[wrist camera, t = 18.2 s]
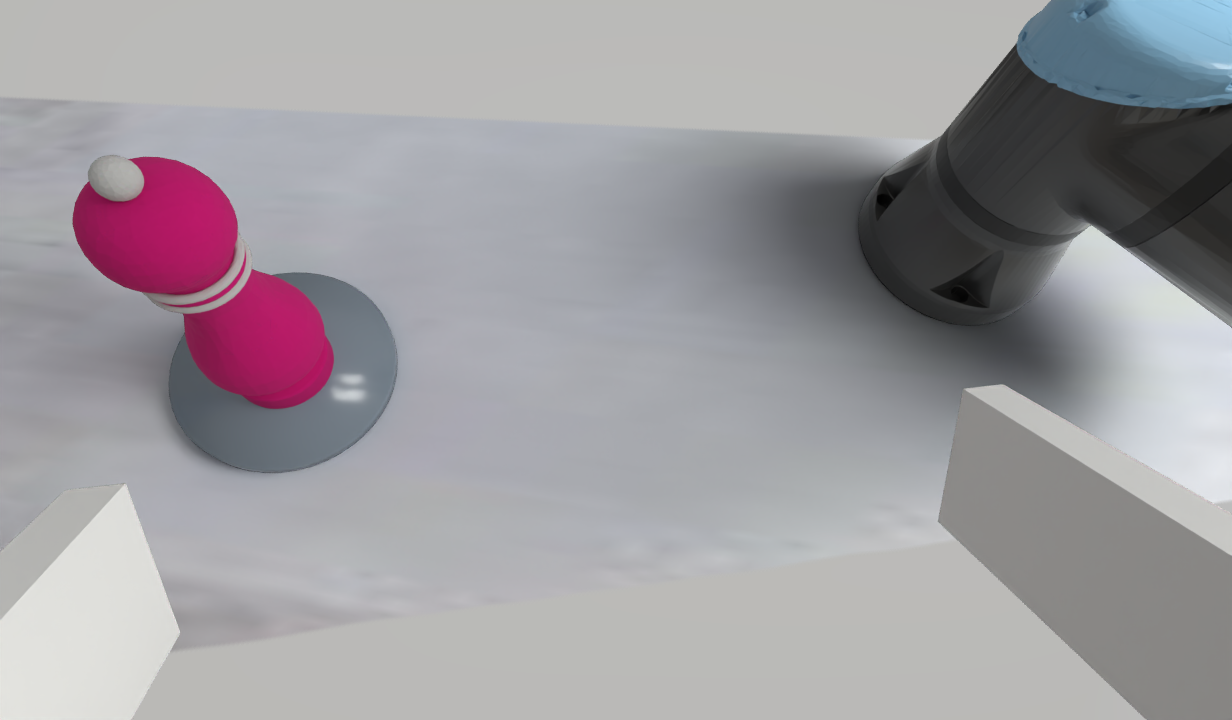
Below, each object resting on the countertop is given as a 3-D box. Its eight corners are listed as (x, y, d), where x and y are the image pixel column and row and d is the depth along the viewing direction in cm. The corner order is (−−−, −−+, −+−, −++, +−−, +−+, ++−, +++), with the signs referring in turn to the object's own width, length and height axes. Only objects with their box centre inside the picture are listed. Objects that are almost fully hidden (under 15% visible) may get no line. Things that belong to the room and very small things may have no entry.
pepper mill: (269, 439, 42) (58, 279, 23) (203, 361, 43) (-43, 154, 25) (364, 368, 44) (243, 173, 26) (299, 296, 46) (141, 65, 27)
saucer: (354, 252, 49) (351, 244, 48) (429, 414, 44) (427, 409, 43) (151, 326, 45) (143, 319, 44) (212, 512, 41) (205, 509, 40)
